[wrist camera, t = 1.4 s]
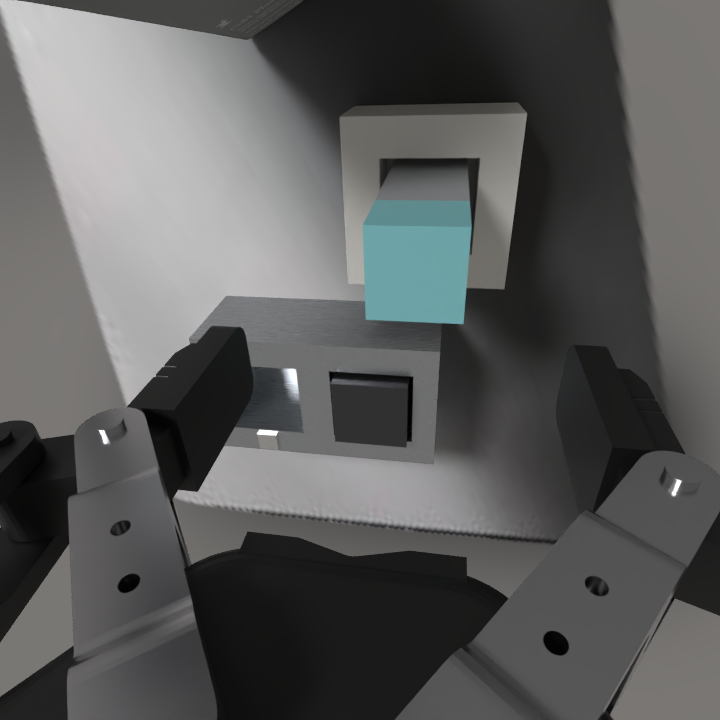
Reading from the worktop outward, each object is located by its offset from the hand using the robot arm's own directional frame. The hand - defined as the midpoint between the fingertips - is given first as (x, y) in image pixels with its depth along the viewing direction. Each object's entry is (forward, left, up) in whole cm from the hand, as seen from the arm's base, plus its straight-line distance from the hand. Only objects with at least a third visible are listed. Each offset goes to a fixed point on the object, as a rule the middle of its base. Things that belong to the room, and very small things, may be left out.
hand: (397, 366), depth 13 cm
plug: (0, 0, -17) cm, 17 cm away
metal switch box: (+11, -6, -18) cm, 21 cm away
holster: (0, 0, -18) cm, 18 cm away
